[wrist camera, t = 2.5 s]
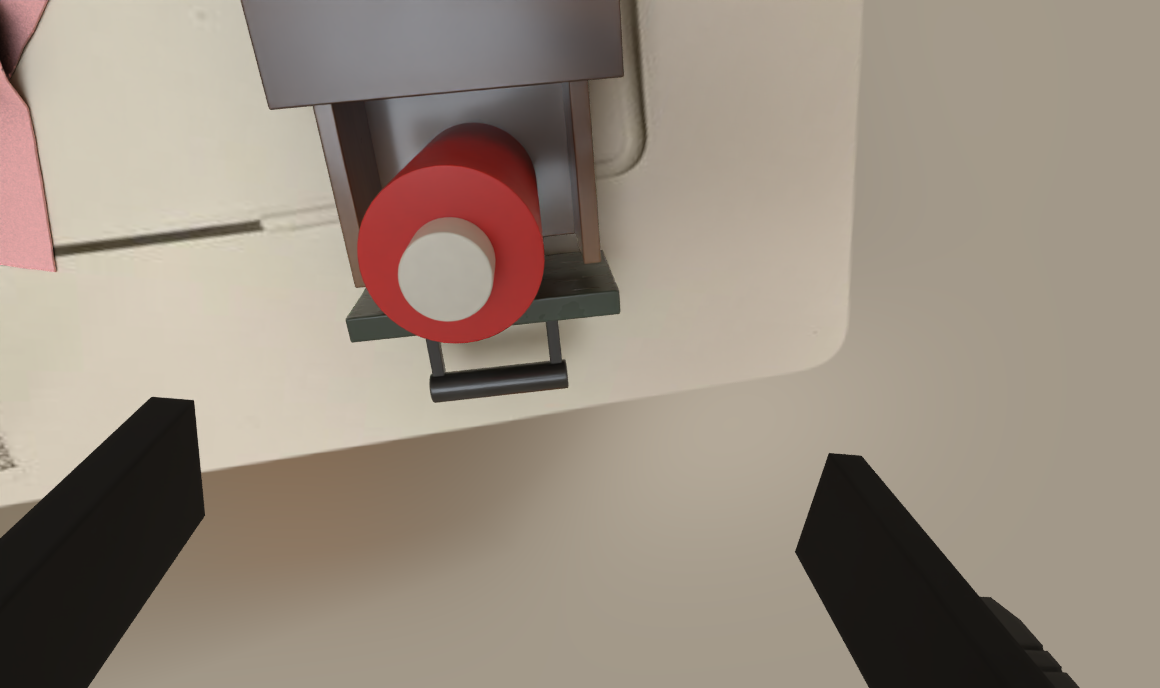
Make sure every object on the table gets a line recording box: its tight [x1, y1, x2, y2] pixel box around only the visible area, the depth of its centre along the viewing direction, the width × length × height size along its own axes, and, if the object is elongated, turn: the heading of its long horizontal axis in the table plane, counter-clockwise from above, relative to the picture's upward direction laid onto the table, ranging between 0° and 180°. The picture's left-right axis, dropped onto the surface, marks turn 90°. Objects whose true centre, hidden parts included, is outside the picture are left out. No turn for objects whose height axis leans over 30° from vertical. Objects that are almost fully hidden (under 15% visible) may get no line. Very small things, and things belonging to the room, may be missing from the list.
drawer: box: [313, 80, 620, 403], centre depth 31 cm, size 19×12×7 cm, turn 5°
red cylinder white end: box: [357, 123, 545, 343], centre depth 26 cm, size 6×6×15 cm
